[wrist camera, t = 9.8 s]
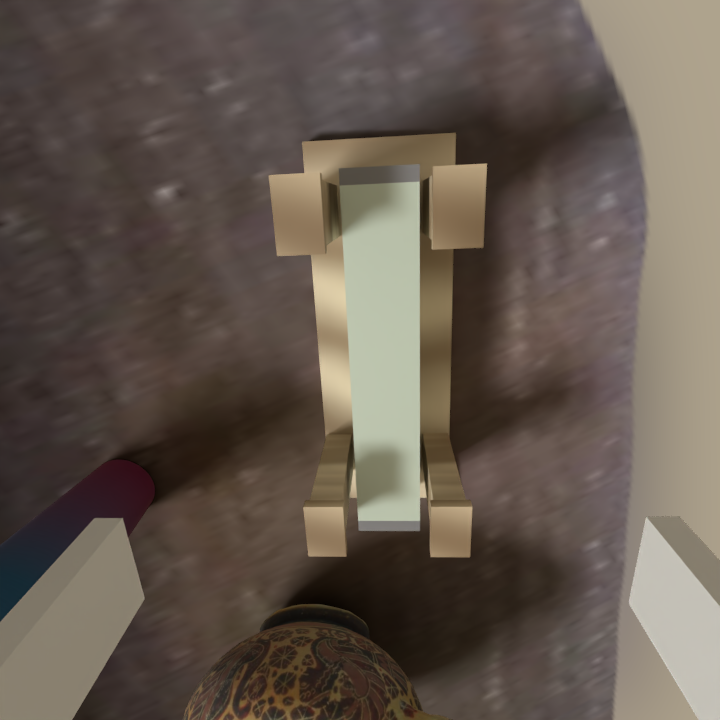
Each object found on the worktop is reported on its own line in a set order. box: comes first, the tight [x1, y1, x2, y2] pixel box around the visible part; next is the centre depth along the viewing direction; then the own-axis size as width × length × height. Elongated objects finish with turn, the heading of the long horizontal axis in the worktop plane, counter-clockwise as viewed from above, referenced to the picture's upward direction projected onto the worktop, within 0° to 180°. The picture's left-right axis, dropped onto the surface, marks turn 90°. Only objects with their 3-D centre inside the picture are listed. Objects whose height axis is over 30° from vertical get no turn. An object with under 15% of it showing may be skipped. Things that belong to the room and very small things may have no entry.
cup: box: [0, 459, 155, 622], centre depth 30 cm, size 7×7×15 cm
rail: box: [339, 164, 420, 531], centre depth 28 cm, size 22×4×5 cm, turn 3°
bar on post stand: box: [269, 133, 487, 557], centre depth 27 cm, size 25×9×10 cm, turn 3°
